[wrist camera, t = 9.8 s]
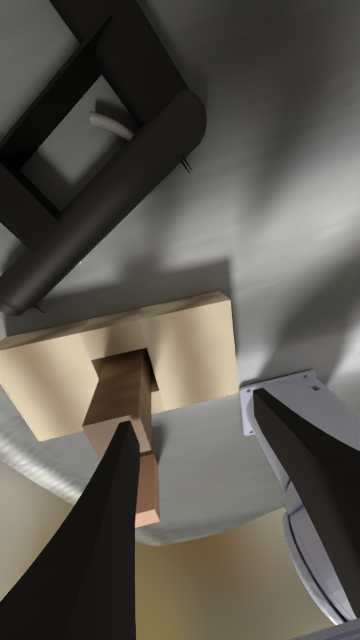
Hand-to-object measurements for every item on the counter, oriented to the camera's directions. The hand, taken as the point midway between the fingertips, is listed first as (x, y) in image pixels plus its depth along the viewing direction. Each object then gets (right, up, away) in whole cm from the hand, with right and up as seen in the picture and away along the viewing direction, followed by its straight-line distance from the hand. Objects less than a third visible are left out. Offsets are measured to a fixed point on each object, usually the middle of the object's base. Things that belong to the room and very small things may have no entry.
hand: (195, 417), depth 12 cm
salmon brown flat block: (-7, -14, +15) cm, 22 cm away
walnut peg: (-6, +2, +9) cm, 11 cm away
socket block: (-6, +2, +9) cm, 11 cm away
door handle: (-11, +18, +3) cm, 21 cm away
